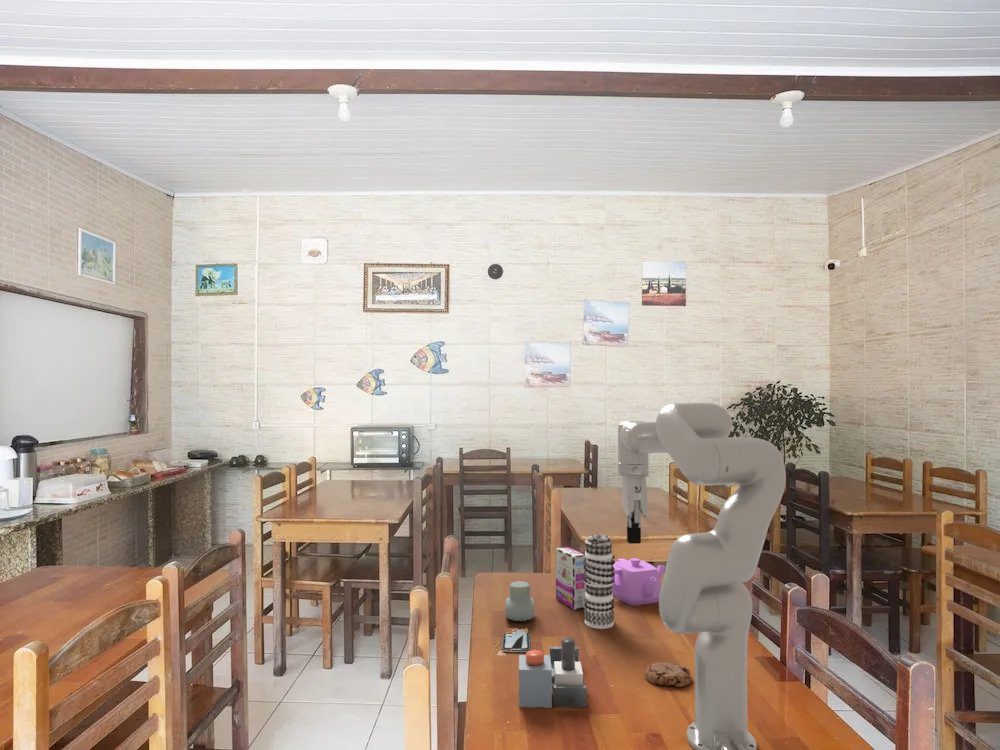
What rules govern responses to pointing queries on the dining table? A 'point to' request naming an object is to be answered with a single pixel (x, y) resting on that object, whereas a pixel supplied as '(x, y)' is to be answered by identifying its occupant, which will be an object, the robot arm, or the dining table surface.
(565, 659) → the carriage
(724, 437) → the robot arm
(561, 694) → the rail
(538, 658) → the button
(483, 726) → the dining table surface
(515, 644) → the smartphone
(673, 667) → the cookie
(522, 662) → the button housing
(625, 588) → the teakettle
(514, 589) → the air freshener
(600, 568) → the decorative candle
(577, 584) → the candy bar box
